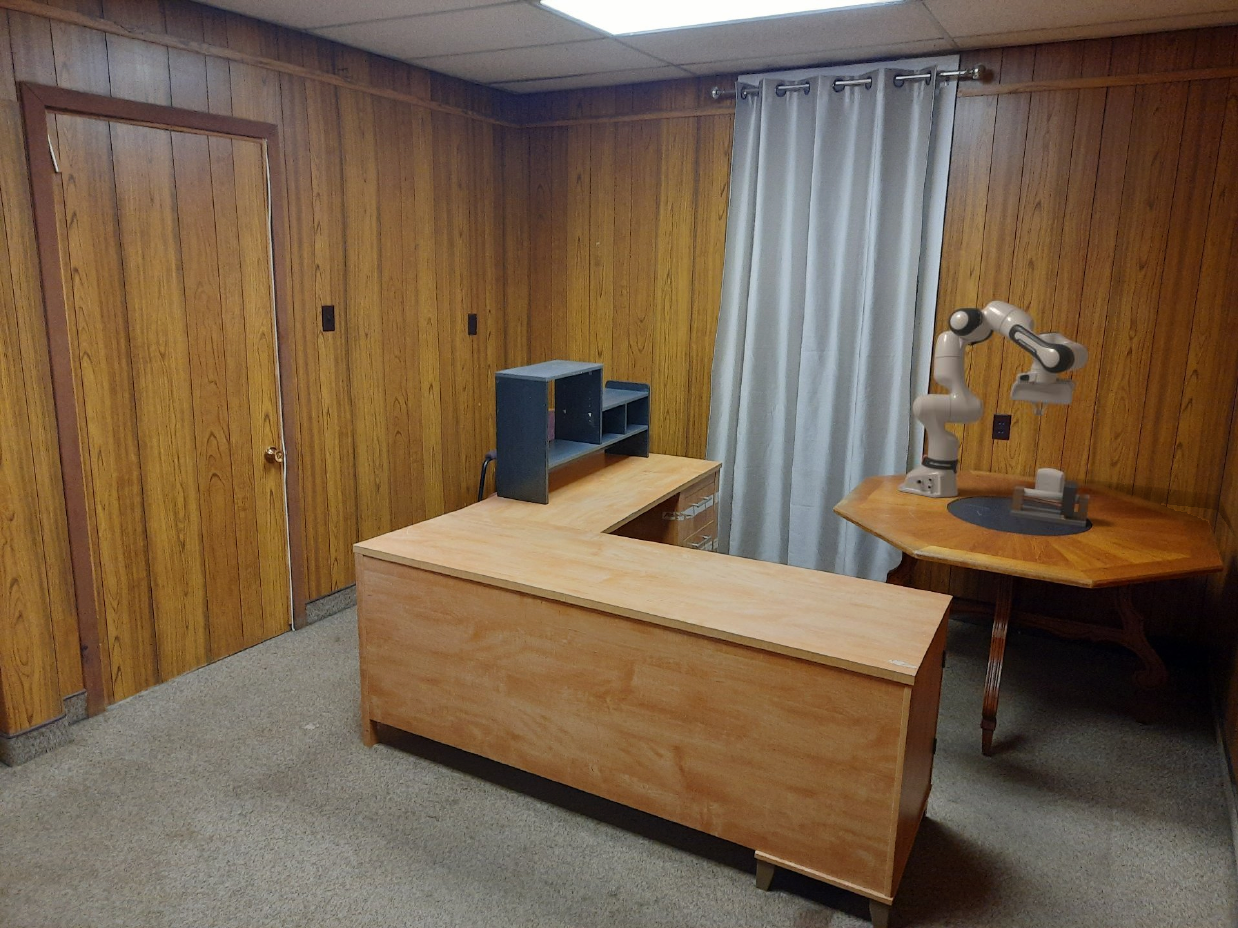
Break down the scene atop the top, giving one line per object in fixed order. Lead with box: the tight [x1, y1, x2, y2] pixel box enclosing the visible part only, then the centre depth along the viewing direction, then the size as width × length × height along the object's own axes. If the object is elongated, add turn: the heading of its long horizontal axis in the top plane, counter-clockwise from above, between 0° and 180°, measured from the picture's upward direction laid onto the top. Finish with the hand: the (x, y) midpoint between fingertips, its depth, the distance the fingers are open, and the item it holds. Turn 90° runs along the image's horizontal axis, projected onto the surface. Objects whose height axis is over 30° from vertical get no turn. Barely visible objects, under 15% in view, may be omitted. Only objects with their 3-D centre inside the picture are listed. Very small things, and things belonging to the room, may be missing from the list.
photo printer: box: [1034, 467, 1066, 504], centre depth 330 cm, size 10×4×12 cm, turn 39°
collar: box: [1059, 480, 1079, 516], centre depth 304 cm, size 4×10×10 cm, turn 150°
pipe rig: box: [1009, 485, 1091, 528], centre depth 307 cm, size 24×12×10 cm, turn 60°
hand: (1038, 414), depth 313 cm, fingers closed
